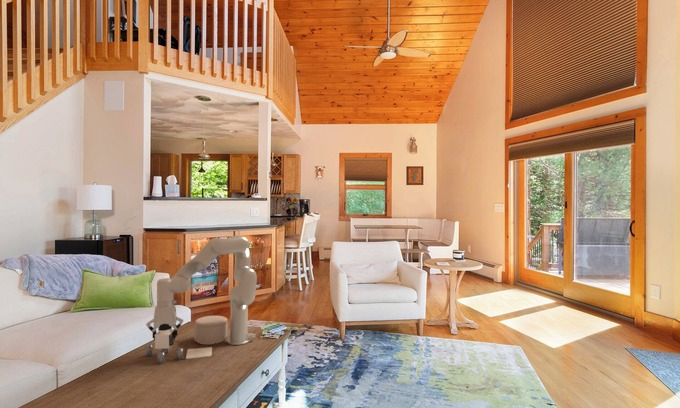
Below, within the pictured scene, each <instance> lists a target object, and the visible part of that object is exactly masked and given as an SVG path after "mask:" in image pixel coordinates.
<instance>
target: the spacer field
mask: <svg viewBox="0 0 680 408" xmlns="http://www.w3.org/2000/svg"><path fill="white" fill-rule="evenodd" d="M153 349H154V344H147V345H146V346H145V357H152V356H153V355H154V354H153V353H154V351H153ZM168 353H169V349H161V351H158V352H157V364H158V365H162V364H165V361H166V358H165V357H166V356H165V355H166V354H168ZM175 353H176V358H175V359H176V361H182V360H183V359H184V348H183V347H178V348H176V351H175Z"/></svg>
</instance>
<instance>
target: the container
mask: <svg viewBox="0 0 680 408" xmlns="http://www.w3.org/2000/svg"><path fill="white" fill-rule="evenodd" d="M228 322H229V321H228V318H227V317H226V316H224V315H223V316H222V315H206V316H201V317H199V318H197V319H195V321H194V323H193V324H194V328H193V329H194V332H193V333H194V334H193V335H194V336H193V341H195V342H196V343H197V342H198V343H197V344H199V343H200V345H216V344H220V343H222V342H224V341H225V339H227V337H228ZM215 343H216V344H215Z"/></svg>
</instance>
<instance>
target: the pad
mask: <svg viewBox="0 0 680 408" xmlns="http://www.w3.org/2000/svg"><path fill="white" fill-rule="evenodd" d="M212 352H213V347H212V346H211V347H210V346H209V347H199V348H188V349H187V352H186V357H185V360H190V359H201V358H202V359H203V358H210V357H212V356H213V354H212Z"/></svg>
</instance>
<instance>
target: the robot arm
mask: <svg viewBox="0 0 680 408" xmlns="http://www.w3.org/2000/svg"><path fill="white" fill-rule="evenodd" d="M249 247H250V241H249V239H248V238H246V237H245V236H241V235H240V236H239V235H231V236H230V237H229V238H228V237H227V238H220V237H213V238H211V239H210V240H209V241H208V242H207V243H206V244H205V245H204V247H202V248H201V250H200V251H199V252H198V253H196V255H195V256H194V257H193V258H192V259H190V260H189V261H188V262H186V263H185V264H184V265H183V266H182V267H180V269H178V270H177V271H176V272H175V274H174V275H173V276H172V277H171V278H169V277H167V278H166V277H164V278H161V279H158V280H157V282H156V306H155V308H154V313H153V318H152V319H151V320H149V321H148V322H146V323H145V325H146V327H147V328H148V329H149V330H150V331H151V333H152V339H153V341H155V334H156V333H157V329H158V328H159V327H160V325H162V324H169V326H172V328H173V330H174V338H175V339H176V337H177V336H178V329H179V328H180V327H181V326H182V324H183V323H184V319H183V318H180V317H178V316H177V309H176V305H175V304H177V301H178V300H176V299H174V293H185V292H188V290H190V289H191V286H192V282H191V281H190V278H191V277H192V276H193V275H195V274H197V273H198V272H200V271H203V270H205V269H207V268H208V267H209V266H210V265H211V264H212V263H213V262H214V260H215V259H216V258H218V256H219V255H223V256H224V255H230V254H231V255H232V254H234V256H235V259H234V261H235V262H234V270H233V279H234V281H235V282H237V283H239V284H237V285H234V286H233V287H232V288H231V289H230V291H229V302H230V316H229V317H230V318H229V319H230V323H229V325H230V326H229V337H228V338H226V343H227V344H229V345H232V346H241V345H242V346H243V345H245V344H248V343H249V342H250V341H251V338H256V333H253V332H251V333H249V331H248V324H249V323H248V320H249V318H248V317H249V306H250V305H251V304H253V302H254V301H255V299H256V291H257V283H258V276H257V272H256V270H255V269H253V268H251V258H252V257H251V252H250V249H249ZM177 322H178V324H177ZM152 323H153V326H152V325H151V324H152Z"/></svg>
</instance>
